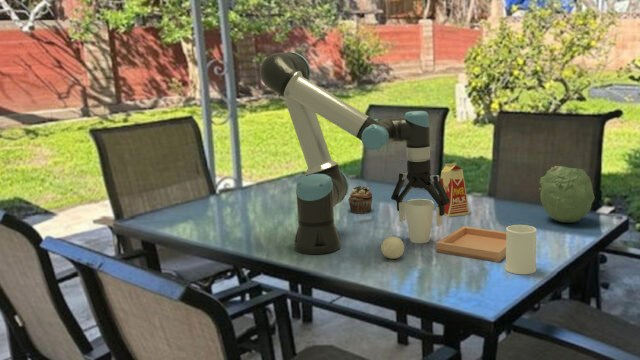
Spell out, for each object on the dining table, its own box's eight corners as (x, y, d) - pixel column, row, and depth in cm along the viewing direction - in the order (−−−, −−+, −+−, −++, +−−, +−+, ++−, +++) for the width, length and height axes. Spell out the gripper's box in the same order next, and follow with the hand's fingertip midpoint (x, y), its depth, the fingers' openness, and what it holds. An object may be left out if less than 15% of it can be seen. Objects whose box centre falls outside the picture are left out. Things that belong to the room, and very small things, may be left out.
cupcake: (375, 207, 252) (374, 183, 250) (370, 214, 243) (369, 189, 241) (351, 207, 254) (350, 183, 252) (346, 213, 245) (345, 188, 243)
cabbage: (584, 231, 209) (587, 172, 204) (529, 222, 221) (531, 167, 217) (601, 220, 220) (603, 164, 216) (548, 212, 233) (549, 159, 228)
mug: (520, 259, 186) (521, 220, 184) (547, 265, 180) (548, 225, 178) (499, 270, 178) (499, 229, 176) (526, 277, 172) (527, 235, 170)
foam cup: (433, 235, 212) (432, 198, 209) (435, 244, 203) (435, 205, 200) (404, 236, 213) (404, 199, 210) (405, 245, 204) (405, 206, 202)
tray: (498, 262, 184) (498, 252, 184) (436, 251, 196) (436, 242, 195) (521, 243, 200) (522, 234, 199) (463, 234, 212) (463, 226, 211)
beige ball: (376, 259, 192) (375, 238, 191) (391, 252, 197) (390, 232, 196) (393, 263, 188) (393, 242, 186) (408, 257, 193) (408, 236, 191)
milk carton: (469, 213, 237) (469, 161, 232) (448, 217, 233) (448, 164, 229) (456, 208, 245) (455, 158, 241) (435, 211, 242) (435, 160, 237)
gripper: (459, 159, 198) (460, 224, 202) (390, 155, 213) (393, 216, 217) (449, 163, 192) (450, 230, 197) (379, 159, 207) (382, 221, 211)
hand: (420, 222), depth 207 cm, fingers open, 13 cm apart
